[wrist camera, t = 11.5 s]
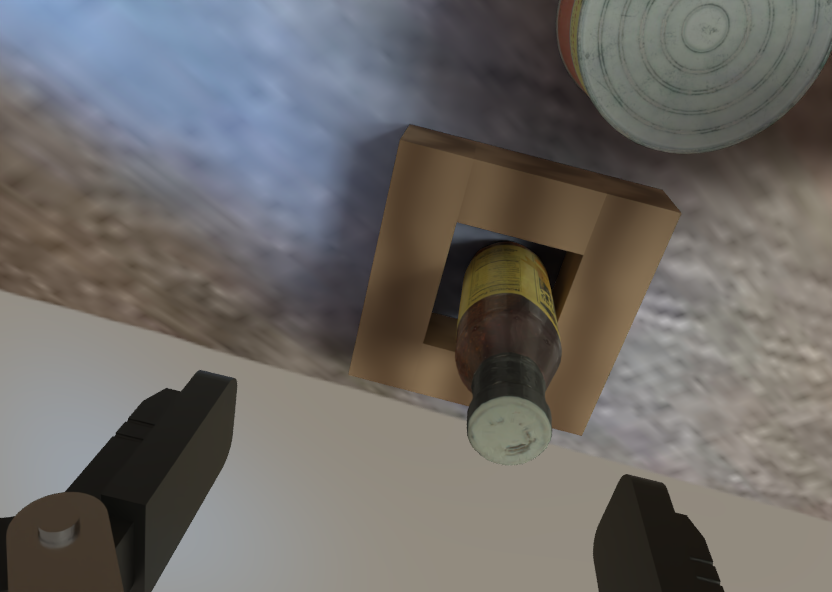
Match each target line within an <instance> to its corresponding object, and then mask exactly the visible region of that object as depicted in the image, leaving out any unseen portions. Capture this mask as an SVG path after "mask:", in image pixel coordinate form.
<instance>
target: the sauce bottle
mask: <svg viewBox="0 0 832 592" xmlns="http://www.w3.org/2000/svg"><path fill="white" fill-rule="evenodd" d="M561 357H562V346H561V340H560V334H559V329H558V325H557V319H556V314H555V309H554V303H553V298H552V293H551V288H550V283H549V277H548V273H547V270H546V268H545V266H544V265H543V263H542V261H541V259H540V258H539V256H537V255H536V254H534V253H533V252H532V251H531V250H529V249H528V248H527V247H524V246H523V245H520V244H518V243H515V242H511V241H508V242H499V243H495V244H492V245H489V246H487V247H484V248H482V249H480V250H479V251H478V252H477V253H476V255H475V256H474V257H473V258H472V260H471V262H470V264H469V266H468V267H467V269H466V272H465V275H464V279H463V287H462V294H461V301H460V308H459V315H458V322H457V332H456V349H455V362H456V367H457V371H458V373H459V376H460V378H461V380H462V382H463V384H464V385H465V386H466V387H467V389H468V390H469V391H470V392H471V393H472V395H473V398H472V401H471V403H470V405H469V408H468V411H467V436H468V439H469V441H470V443H471V445H472V447H473V448H474V449H475V450H476V451H477V452H478V453H479V454H480V455H481V456H483V457H484V458H485V459H487V460H489V461H491V462H494V463H498V464H502V465H518V464H523V463H526V462H528V461H530V460H532V459H534V458H536V457H537V456H538V455H540V454H541V453H542V452H543V451H544V450H545V449H546V448H547V445H548V444H549V442H550V440H551V437H552V417H551V411H550V408H549V406H548V404H547V403H546V399H545V392H546V390H547V388H548V386H549V384H550V382H551V381H552V379H553V377H554V375H555V373H556V371H557V370H558V367H559V365H560V362H561Z"/></svg>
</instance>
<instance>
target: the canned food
mask: <svg viewBox="0 0 832 592" xmlns="http://www.w3.org/2000/svg"><path fill="white" fill-rule="evenodd" d="M556 35H557V43H558V48H559V52H560V55H561V58H562V61H563V63H564V66H565V68H566V70H567V71H568V73H569V75H570V76H571V78H572V79H573V80H574V82H575V83H576V84H577V85H578V86H579V88H580V89H581V90H583V91H584V92H585V93H586V94H587V95H588V96H589V98H590V99H591V101H592V102H593V104H594V106H595V107H596V109H597V110H598V111H599V113H600V114H601V115H602V117H603V118H604V119H605V120H606V121H607V122H608V123H609V124H610V125H611V126H612V127H613V128H614V129H615V130H617V131H618V132H619V133H621V134H622V135H624V136H625V137H627V138H628V139H630V140H632V141H634V142H635V143H638V144H640V145H642V146H645V147H648V148H651V149H654V150H658V151H662V152H667V153H677V154H694V153H704V152H710V151H715V150H719V149H723V148H726V147H729V146H732V145H735V144H738V143H740V142H742V141H744V140H747V139H749V138H751V137H753V136H754V135H756V134H758V133H760V132H762V131H763V130H765V129H766V128H768V127H769V126H771V125H772V124H774V123H775V122H776V121H777V120H779V119H780V118H781V117H782V116H784V115H785V114H786V113H787V112H788V111H789V110H790V109H791V108H792V107H793V106H794V105H795V104H796V103H797V102H798V101H799V100H800V99H801V98H802V97H803V96H804V94H805V93H806V92H807V91H808V89H809V88H810V87H811V85H812V84H813V83H814V81H815V80H816V78H817V77H818V75H819V74H820V72H821V70H822V68H823V67H824V65H825V63H826V61H827V59H828V57H829V55H830V52H831V50H832V0H559V4H558V9H557V17H556Z"/></svg>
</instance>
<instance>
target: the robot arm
mask: <svg viewBox="0 0 832 592" xmlns="http://www.w3.org/2000/svg"><path fill="white" fill-rule="evenodd" d="M236 393H237V381H236V379H235V378H231V377H227V376H223V375H219V374H215V373H211V372H207V371H202V370H199V371H197V372H196V373H195V375H194V376H193V377H192V378H191V380H190V381H189V382H188V384H187V385H186V386H185V387H184V389H183V390H182V391H181V392H180V391H176V390H172V389H168V388H166V389H164V390H162V391H160V392H158V393H156V394H155V395H153V396H151V397H149V398H147V399H146V400H144V401H143V402H142V403H141V404H140V405H139V406H138V407H137V409H136V410H135V411H134V412H133V413H132V414H131V416H130V417H129V418H128V421H127V422H125V423H124V424H123V425H122V426H121V427H120V428H119V430H118V431H117V432H116V435H115V437H112V438H111V439H110V440H109V441H108V443H107V444H106V445H105V446H104V447H103V448H102V449H101V451H100V452H99V453H98V454H97V455H96V456H95V458H94V459H93V460H92V461H91V462H90V463H89V465H88V466H87V467H86V468H85V469H84V470H83V471H82V473H81V474H80V475H79V476H78V477H77V479H76V480H75V481H74V482H73V483H72V484H71V485H70V487H69V488H68V489H67V490H66V491H65V492H62V493H56V494H52V495H48V496H45V497H43V498H40V499H38V500H36V501H34V502H32V503H30V504H29V505H27V506H26V507H24V508H23V509H22V510H21V511H20V512H18V514H16V516H14V517H6V518H0V592H151V591H152V590H153V588H154V586H155V585H156V583H157V581H158V579H159V577H160V576H161V574H162V572H163V571H164V569H165V567H166V565H167V564H168V562H169V560H170V558H171V557H172V555H173V553H174V551H175V550H176V548H177V546H178V544H179V543H180V541H181V539H182V538H183V536H184V534H185V532H186V531H187V529H188V527H189V525H190V523H191V522H192V520H193V518H194V517H195V515H196V513H197V511H198V510H199V508H200V506H201V504H202V503H203V501H204V499H205V497H206V495H207V494H208V492H209V490H210V489H211V487H212V485H213V484H214V482H215V480H216V478H217V476H218V475H219V473H220V471H221V470H222V468H223V466H224V464H225V461H226V459H227V456H228V453H229V450H230V447H231V442H232V436H233V426H234V414H235V405H236ZM593 558H594V565H595V571H596V576H597V583H598V588H599V592H724V590H723V587H722V586H720V579H719V576H718V573H717V571H716V568H715V566H713V560H712V557H711V555H710V552H709V549H708V546H707V544H706V541H705V538H704V537H703V536H702V535H701V533H700V532H699V531H698V529H697V528H696V527H695V526H694V524H693V523H692V522H691V520H690V519H689V518H688V517H687V515H683V514H679V513H675V511H674V508H673V505H672V502H671V499H670V496H669V493H668V490H667V488H666V486H665V485H664V484H663V483H661V482H657V481H653V480H649V479H645V478H641V477H636V476H632V475H628V474H626V475H623V476H622V477H621V479H620V481H619V482H618V484H617V486H616V489H615V491H614V493H613V495H612V497H611V499H610V502H609V504H608V506H607V508H606V510H605V512H604V514H603V516H602V519H601V521H600V523H599V525H598V527H597V530H596V534H595V538H594V546H593Z"/></svg>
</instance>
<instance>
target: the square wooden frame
mask: <svg viewBox="0 0 832 592" xmlns="http://www.w3.org/2000/svg"><path fill="white" fill-rule="evenodd" d="M680 216H681V212H680V211H679V209H678V208H677V207H676V206H675V205H674V203H673V202H672V201H671V200H670V198H669V197H668V196H667V195H666V193H665V192H664V191H663V190H661V189H657V188H653V187H649V186H645V185H641V184H638V183H634V182H630V181H626V180H622V179H618V178H615V177H611V176H607V175H603V174H599V173H595V172H592V171H588V170H584V169H580V168H576V167H572V166H569V165H565V164H561V163H557V162H553V161H549V160H546V159H542V158H538V157H534V156H530V155H526V154H523V153H519V152H515V151H511V150H507V149H503V148H500V147H496V146H492V145H488V144H484V143H480V142H477V141H473V140H469V139H465V138H461V137H457V136H454V135H450V134H446V133H442V132H438V131H434V130H431V129H427V128H423V127H419V126H415V125H411V124H410V125H409V126H408V128H407V129H406V131H405V132H404V134H403V136H402V137H401V139H400V141H399V146H398V150H397V155H396V160H395V164H394V169H393V173H392V178H391V182H390V187H389V192H388V196H387V201H386V205H385V210H384V214H383V219H382V224H381V228H380V233H379V237H378V242H377V246H376V251H375V256H374V260H373V265H372V269H371V274H370V278H369V283H368V288H367V292H366V297H365V301H364V306H363V310H362V315H361V320H360V324H359V329H358V333H357V338H356V342H355V347H354V352H353V356H352V361H351V365H350V370H349V374H348V375H351V376H355V377H359V378H363V379H366V380H370V381H374V382H378V383H382V384H385V385H389V386H393V387H397V388H401V389H405V390H408V391H412V392H416V393H420V394H424V395H428V396H431V397H435V398H439V399H443V400H447V401H450V402H454V403H458V404H462V405H466V406H469V405H470V403H471V401H472V398H473V395H472V393H471V392H470V391H469V390H468V389H467V387H466V386H465V385H464V384H463V382H462V380H461V378H460V376H459V373H458V371H457V367H456V362H455V349H456V332H457V322H458V319H456V318H452V317H448V316H444V315H440V314H437V313H433V312H432V309H433V306H434V302H435V299H436V295H437V291H438V288H439V284H440V281H441V277H442V273H443V270H444V266H445V263H446V259H447V255H448V252H449V248H450V245H451V241H452V237H453V234H454V230H455V226H456V223H457V222H458V223H462V224H466V225H470V226H474V227H477V228H481V229H485V230H489V231H493V232H497V233H500V234H504V235H508V236H512V237H516V238H520V239H523V240H527V241H531V242H535V243H539V244H543V245H546V246H550V247H554V248H558V249H562V250H566V251H567V252H566V255H565V258H564V260H563V263H562V266H561V268H560V271H559V274H558V276H557V279H556V282H555V285H554V287H553V290H552V298H553V303H554V309H555V314H556V319H557V325H558V329H559V334H560V340H561V346H562V357H561V362H560V365H559V367H558V370H557V371H556V373H555V375H554V377H553V379H552V381H551V382H550V384H549V386H548V388H547V390H546V392H545V399H546V403H547V404H548V406H549V408H550V411H551V417H552V428H554V429H558V430H561V431H565V432H569V433H573V434H577V435H580V436H582V434H583V432H584V430H585V427H586V425H587V423H588V421H589V419H590V416H591V414H592V412H593V410H594V407H595V405H596V403H597V401H598V398H599V396H600V394H601V392H602V390H603V387H604V385H605V383H606V381H607V378H608V376H609V374H610V372H611V370H612V367H613V365H614V363H615V361H616V358H617V356H618V354H619V352H620V349H621V347H622V345H623V343H624V341H625V338H626V336H627V334H628V332H629V329H630V327H631V325H632V323H633V320H634V318H635V316H636V314H637V312H638V309H639V307H640V305H641V303H642V300H643V298H644V296H645V294H646V291H647V289H648V287H649V285H650V283H651V280H652V278H653V276H654V274H655V271H656V269H657V267H658V265H659V262H660V260H661V258H662V256H663V254H664V251H665V249H666V247H667V245H668V242H669V240H670V238H671V236H672V233H673V231H674V229H675V227H676V225H677V222H678V220H679V218H680Z"/></svg>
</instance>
